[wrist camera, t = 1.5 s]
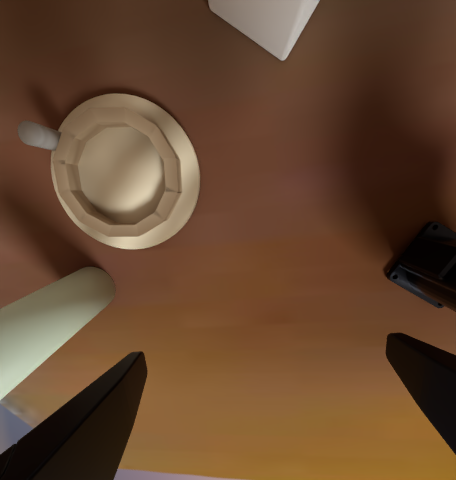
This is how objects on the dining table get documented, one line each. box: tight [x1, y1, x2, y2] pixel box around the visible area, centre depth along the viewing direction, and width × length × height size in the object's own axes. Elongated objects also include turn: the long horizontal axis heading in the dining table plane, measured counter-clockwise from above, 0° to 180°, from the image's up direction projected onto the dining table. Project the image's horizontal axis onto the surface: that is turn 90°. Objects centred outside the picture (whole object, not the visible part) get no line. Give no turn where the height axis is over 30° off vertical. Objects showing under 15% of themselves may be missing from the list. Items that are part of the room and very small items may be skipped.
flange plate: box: [18, 93, 201, 249], centre depth 17 cm, size 13×13×4 cm
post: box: [0, 267, 116, 400], centre depth 17 cm, size 5×5×11 cm
